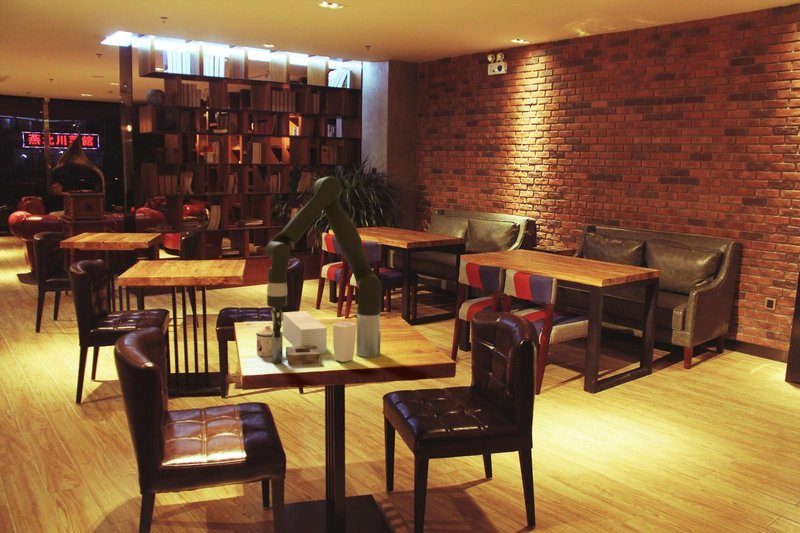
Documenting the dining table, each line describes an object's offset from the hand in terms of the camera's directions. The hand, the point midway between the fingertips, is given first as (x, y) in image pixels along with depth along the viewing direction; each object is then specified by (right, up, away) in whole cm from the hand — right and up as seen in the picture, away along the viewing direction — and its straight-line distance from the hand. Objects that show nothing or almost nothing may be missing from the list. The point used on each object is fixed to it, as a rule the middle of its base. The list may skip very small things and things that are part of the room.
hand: (276, 334), depth 270 cm
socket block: (+9, -11, +6) cm, 15 cm away
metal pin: (0, -11, +2) cm, 11 cm away
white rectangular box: (+6, -7, +30) cm, 31 cm away
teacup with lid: (-6, -9, +12) cm, 16 cm away
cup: (+25, -11, +7) cm, 29 cm away
